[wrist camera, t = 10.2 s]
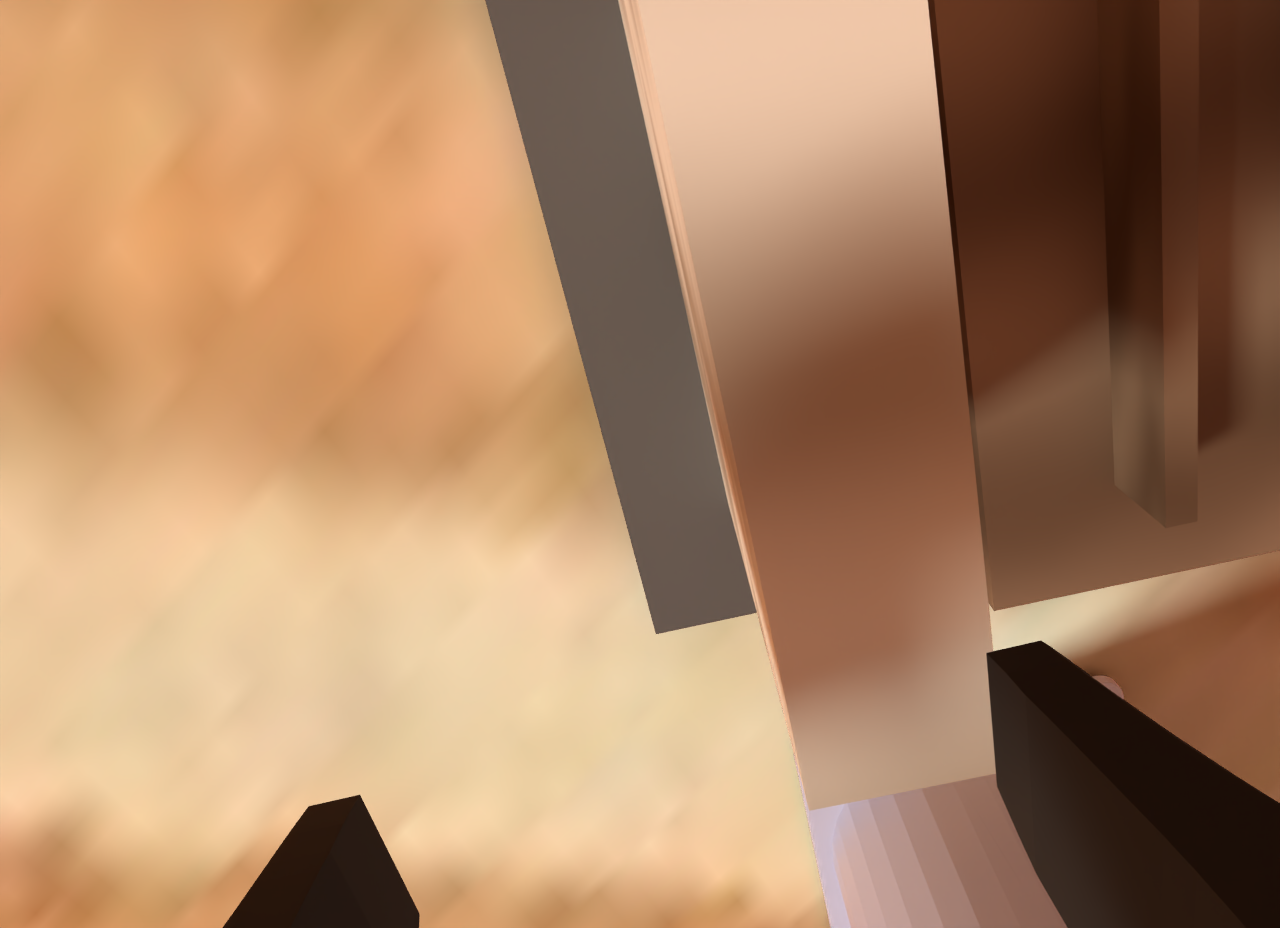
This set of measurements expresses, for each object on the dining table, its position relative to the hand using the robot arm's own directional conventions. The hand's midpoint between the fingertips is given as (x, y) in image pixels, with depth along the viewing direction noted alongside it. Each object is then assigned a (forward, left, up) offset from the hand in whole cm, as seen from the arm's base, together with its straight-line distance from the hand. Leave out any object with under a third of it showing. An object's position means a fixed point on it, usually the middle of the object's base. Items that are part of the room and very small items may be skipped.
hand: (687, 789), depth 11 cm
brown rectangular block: (+4, -3, -10) cm, 11 cm away
